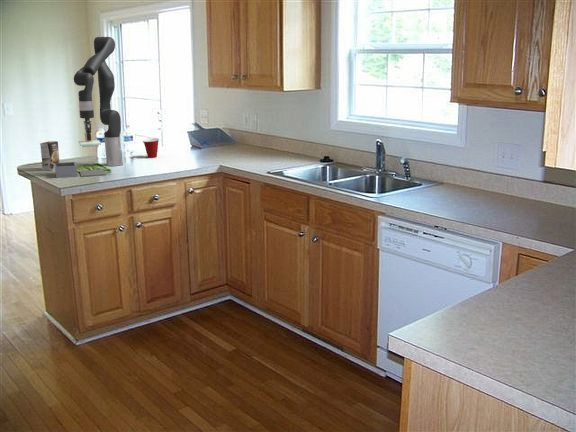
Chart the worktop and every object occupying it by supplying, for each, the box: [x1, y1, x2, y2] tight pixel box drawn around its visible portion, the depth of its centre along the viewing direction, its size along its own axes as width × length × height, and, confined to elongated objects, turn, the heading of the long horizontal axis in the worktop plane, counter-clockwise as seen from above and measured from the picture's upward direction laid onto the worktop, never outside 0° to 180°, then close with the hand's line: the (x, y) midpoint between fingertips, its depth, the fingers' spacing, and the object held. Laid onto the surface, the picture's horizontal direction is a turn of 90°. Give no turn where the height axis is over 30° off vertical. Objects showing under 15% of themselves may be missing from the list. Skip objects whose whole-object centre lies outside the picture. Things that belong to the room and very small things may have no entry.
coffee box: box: [39, 140, 61, 172], centre depth 363 cm, size 9×6×16 cm
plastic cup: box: [142, 137, 160, 159], centre depth 402 cm, size 11×11×12 cm
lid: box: [78, 131, 102, 148], centre depth 346 cm, size 11×13×7 cm
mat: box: [79, 169, 106, 178], centre depth 351 cm, size 13×15×1 cm
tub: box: [54, 161, 78, 179], centre depth 347 cm, size 11×13×6 cm
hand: (89, 140), depth 349 cm, fingers closed on lid
